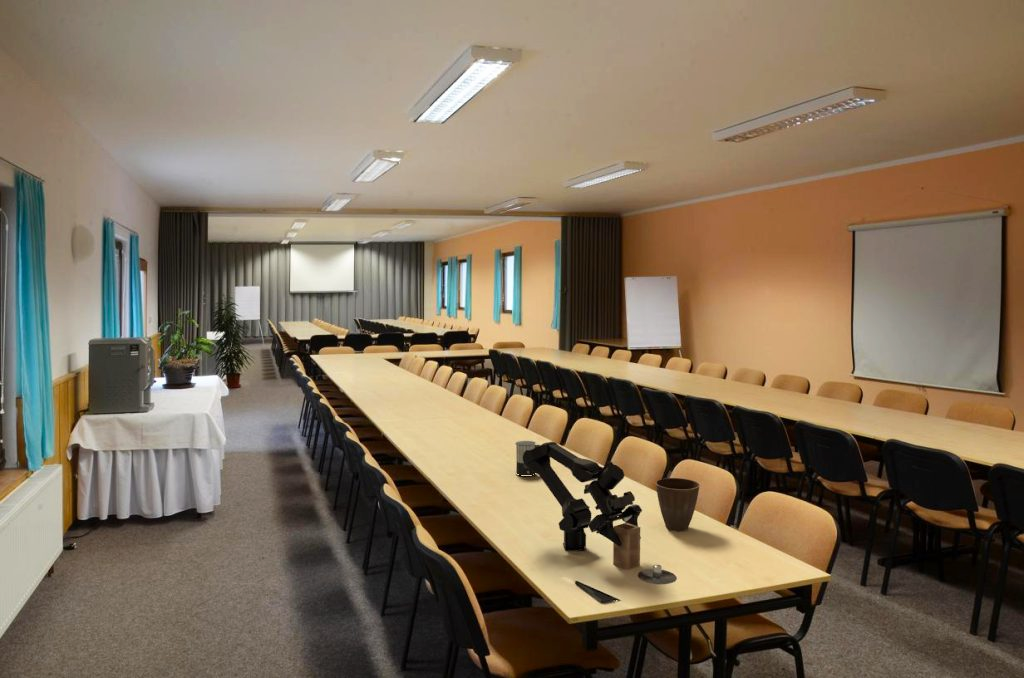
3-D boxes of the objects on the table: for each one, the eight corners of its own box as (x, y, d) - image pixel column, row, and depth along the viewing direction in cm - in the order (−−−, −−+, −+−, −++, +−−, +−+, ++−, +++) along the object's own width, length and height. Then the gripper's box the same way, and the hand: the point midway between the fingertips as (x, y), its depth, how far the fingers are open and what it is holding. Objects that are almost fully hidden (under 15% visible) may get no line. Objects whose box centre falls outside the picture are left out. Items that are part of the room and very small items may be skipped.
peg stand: (629, 578, 207) (629, 565, 206) (654, 569, 214) (654, 556, 213) (660, 590, 198) (660, 576, 198) (684, 580, 205) (684, 567, 205)
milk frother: (521, 478, 320) (522, 445, 319) (504, 470, 333) (504, 439, 332) (548, 474, 327) (548, 442, 326) (530, 467, 340) (530, 436, 339)
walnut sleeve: (613, 565, 215) (613, 526, 214) (625, 561, 219) (626, 522, 218) (627, 571, 211) (627, 531, 210) (639, 566, 214) (640, 527, 213)
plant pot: (697, 537, 242) (698, 490, 241) (653, 532, 246) (653, 487, 245) (699, 523, 256) (700, 479, 255) (657, 519, 261) (657, 476, 260)
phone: (597, 576, 207) (626, 596, 193) (597, 579, 207) (626, 600, 193) (573, 580, 203) (601, 601, 190) (573, 584, 203) (601, 605, 190)
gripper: (596, 488, 210) (624, 535, 202) (637, 478, 222) (665, 522, 214) (576, 509, 217) (603, 554, 209) (618, 497, 229) (645, 541, 221)
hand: (630, 542), depth 213 cm, fingers open, 8 cm apart
